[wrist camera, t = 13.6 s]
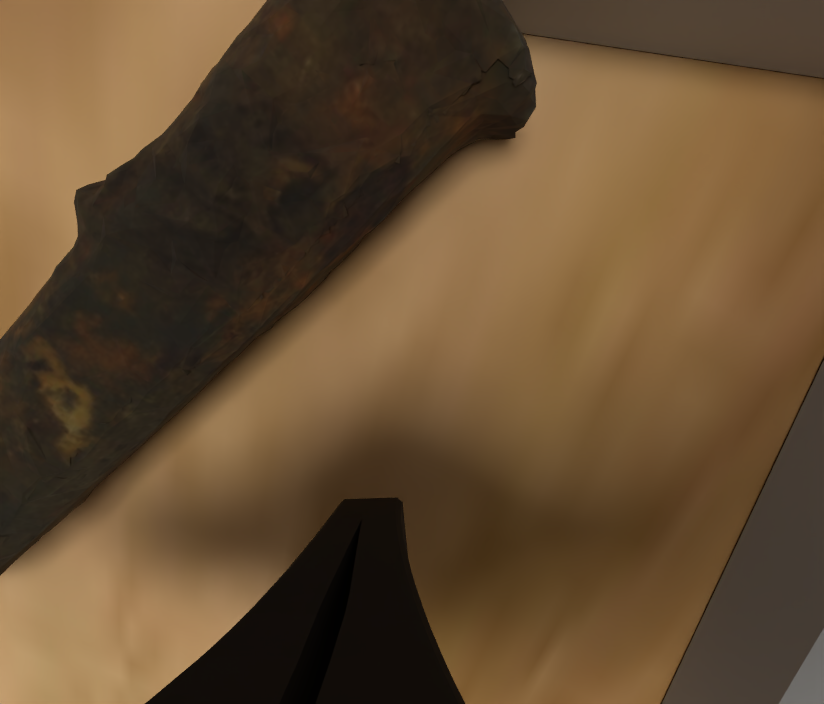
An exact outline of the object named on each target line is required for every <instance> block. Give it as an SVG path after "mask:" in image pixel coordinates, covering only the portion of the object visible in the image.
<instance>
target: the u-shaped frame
mask: <svg viewBox="0 0 824 704" xmlns="http://www.w3.org/2000/svg"><path fill="white" fill-rule="evenodd" d="M502 1H503V2H504V4H505V6H506V7H507V9H508V11H509V13H510V14H511V16H512V18H513V19H514V21H515V23H516V25H517V26H518V28H519V30H520V31H521V33H525V34H531V35H538V36H545V37H551V38H558V39H565V40H571V41H578V42H585V43H592V44H598V45H605V46H612V47H618V48H625V49H632V50H639V51H645V52H652V53H659V54H665V55H672V56H679V57H685V58H692V59H699V60H706V61H712V62H719V63H726V64H732V65H739V66H746V67H753V68H759V69H766V70H773V71H779V72H786V73H793V74H800V75H806V76H813V77H820V78H824V0H502ZM662 704H824V360H823V362H822V365H821V367H820V369H819V371H818V373H817V375H816V377H815V379H814V382H813V384H812V386H811V388H810V390H809V392H808V394H807V396H806V398H805V401H804V403H803V405H802V407H801V409H800V411H799V413H798V415H797V418H796V420H795V422H794V424H793V426H792V428H791V430H790V432H789V435H788V437H787V439H786V441H785V443H784V445H783V447H782V449H781V452H780V454H779V456H778V458H777V460H776V462H775V464H774V466H773V469H772V471H771V473H770V475H769V477H768V479H767V481H766V483H765V486H764V488H763V490H762V492H761V494H760V496H759V498H758V500H757V503H756V505H755V507H754V509H753V511H752V513H751V515H750V517H749V520H748V522H747V524H746V526H745V528H744V530H743V532H742V534H741V537H740V539H739V541H738V543H737V545H736V547H735V549H734V551H733V554H732V556H731V558H730V560H729V562H728V564H727V566H726V568H725V571H724V573H723V575H722V577H721V579H720V581H719V583H718V585H717V588H716V590H715V592H714V594H713V596H712V598H711V600H710V602H709V605H708V607H707V609H706V611H705V613H704V615H703V617H702V619H701V621H700V624H699V626H698V628H697V630H696V632H695V634H694V636H693V638H692V641H691V643H690V645H689V647H688V649H687V651H686V653H685V655H684V658H683V660H682V662H681V664H680V666H679V668H678V670H677V672H676V675H675V677H674V679H673V681H672V683H671V685H670V687H669V689H668V692H667V694H666V696H665V698H664V700H663V702H662Z"/></svg>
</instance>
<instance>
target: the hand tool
mask: <svg viewBox="0 0 824 704" xmlns="http://www.w3.org/2000/svg"><path fill="white" fill-rule="evenodd" d="M536 84H537V83H536V79H535V75H534V71H533V66H532V61H531V56H530V51H529V48H528V46H527V43H526V40H525V38H524V37H523V35H522V33H521V31H520V30H519V28H518V26H517V25H516V23H515V21H514V19H513V18H512V16H511V14H510V13H509V11H508V9H507V7H506V6H505V4H504V2H503V1H502V0H267V1H266V2H265V4H264V5H263V6H262V8H261V9H260V10H259V11H258V13H257V14H256V15H255V17H254V18H253V19H252V21H251V22H250V23H249V24H248V26H247V27H246V28H245V29H244V30H243V31H242V32H241V33H240V34H239V35H238V36H237V37H236V39H235V40H234V41H233V43H232V44H231V46H230V47H229V48H228V50H227V51H226V52H225V54H224V55H223V57H222V58H221V59H220V61H219V62H218V64H217V65H215V66H214V67H213V68H212V69H211V71H210V72H209V74H208V75H207V77H206V78H205V80H204V81H203V82H202V83H201V85H200V87H199V89H198V91H197V92H196V94H195V95H194V97H193V99H192V100H191V101H190V102H189V103H188V105H187V106H186V107H185V108H184V110H183V111H182V112H181V113H180V115H179V116H178V117H177V118H176V119H175V121H174V122H173V123H172V124H171V125H170V126H169V128H168V129H167V130H166V131H165V132H164V133H163V134H162V135H161V136H159V137H158V138H157V139H155V140H154V141H153V142H151V143H150V144H149V145H147V146H146V147H145V148H143V149H142V150H141V151H140V152H139V153H138V154H137V155H136V156H135V158H133V159H131V160H130V161H128V162H126V163H125V164H123V165H121V166H120V167H118V168H117V169H115V170H114V171H112V172H111V173H109V174H108V175H107V177H106V180H103V181H100V182H96V183H93V184H89V185H86V186H84V187H82V188H80V189H78V190H76V195H75V200H74V204H75V210H76V216H77V222H78V238H77V240H76V242H75V245H74V247H73V248H72V249H71V250H70V252H69V253H68V254H67V255H66V256H65V257H64V258H63V259H62V261H61V262H60V263H59V264H58V265H57V266H56V268H55V270H54V272H53V274H52V276H51V277H50V279H49V280H48V281H47V282H46V284H45V285H44V286H43V287H42V289H41V290H40V291H39V292H38V293H37V295H36V296H35V298H34V299H33V300H32V302H31V303H30V305H29V306H28V307H27V308H26V309H25V311H24V312H23V313H22V314H21V315H20V317H19V318H18V319H17V320H16V321H15V322H14V324H13V325H12V326H11V327H10V328H9V330H8V331H7V332H6V333H5V334H4V336H3V337H2V338H1V339H0V575H1V574H2V573H3V572H4V571H5V570H6V569H7V568H8V567H9V566H10V565H11V564H12V563H13V562H14V561H15V560H17V559H18V558H19V557H20V556H21V555H22V554H23V553H24V552H25V551H27V550H28V549H29V548H30V547H31V546H32V545H34V544H35V543H36V542H37V541H39V539H40V538H41V537H42V536H43V535H44V534H46V533H47V532H48V531H49V530H51V529H52V528H53V527H54V526H56V525H57V524H58V523H59V522H60V521H61V520H62V519H63V518H65V517H66V516H67V515H68V514H69V513H70V512H71V511H72V510H74V509H75V508H76V507H77V506H79V505H80V504H81V503H83V502H84V501H85V500H86V498H87V497H88V496H89V494H90V493H91V492H92V490H93V489H94V488H95V487H96V486H97V485H98V484H99V483H100V482H101V481H102V480H104V479H105V478H106V477H107V476H108V475H109V474H110V473H111V472H113V471H114V470H115V469H116V468H117V467H118V466H119V465H120V464H122V463H123V462H124V461H125V460H126V459H127V458H128V457H129V456H131V455H132V454H133V453H134V452H135V451H136V450H137V449H138V448H139V447H141V446H142V445H143V444H144V443H145V442H146V441H147V440H148V439H149V438H150V437H151V436H152V435H153V434H154V433H155V432H157V431H158V430H159V429H160V428H161V427H162V426H163V425H164V424H165V423H167V422H168V421H169V420H170V419H171V418H172V417H173V416H174V415H175V414H176V413H177V412H179V411H180V410H181V409H182V408H183V407H184V406H185V405H186V404H187V403H188V402H189V401H190V400H191V399H193V398H194V397H195V396H196V395H197V394H198V393H199V392H200V391H201V390H202V389H203V388H204V387H205V386H206V385H207V384H208V383H209V382H210V381H211V380H212V379H213V377H214V376H215V375H216V374H217V373H218V372H219V371H221V370H222V369H223V368H224V367H225V366H226V365H227V364H228V363H230V362H231V361H232V360H234V359H235V358H236V357H237V356H238V355H239V354H240V353H241V352H242V351H243V350H244V349H245V348H246V347H247V346H248V345H249V344H250V343H251V342H252V341H253V340H254V339H255V338H256V337H258V336H259V335H261V334H262V333H264V332H266V331H267V330H269V329H270V328H272V326H273V325H274V323H275V322H276V321H277V320H278V319H280V318H281V317H283V316H284V315H285V314H287V313H288V312H289V311H291V310H292V309H293V308H295V307H296V306H297V305H298V304H300V303H301V302H302V301H303V300H304V299H305V298H306V297H307V296H308V295H309V294H310V293H311V292H312V291H313V290H314V289H315V288H316V287H317V286H318V285H319V284H320V283H321V282H322V281H323V280H324V279H325V278H326V276H327V275H328V274H329V272H330V271H331V270H332V269H334V268H335V267H336V266H338V265H339V264H340V263H341V262H342V261H343V260H344V259H345V258H346V257H347V256H348V255H349V254H350V253H351V252H352V251H353V250H354V249H355V248H356V247H357V246H358V244H359V243H360V241H361V240H362V238H363V236H364V235H366V234H367V233H369V232H371V231H372V230H373V229H374V228H375V227H376V226H377V225H378V224H380V223H381V222H382V221H383V220H384V219H385V218H386V217H387V216H388V214H389V213H390V212H391V211H392V210H393V209H394V208H395V207H396V206H397V205H398V204H399V202H400V201H401V200H402V199H403V198H404V197H405V196H406V195H407V194H408V193H409V192H410V191H412V190H413V189H414V188H415V187H416V186H417V185H418V184H419V183H420V182H422V181H423V180H424V179H425V178H426V177H427V176H428V175H429V174H430V173H432V172H433V171H434V170H435V169H436V168H437V167H438V166H439V165H440V164H442V163H443V162H444V161H445V160H446V159H447V158H448V157H449V156H450V155H452V154H453V153H454V152H455V151H457V150H459V149H461V148H463V147H465V146H467V145H469V144H471V143H472V142H474V141H476V140H478V139H511V138H515V132H516V131H518V130H519V129H521V128H523V127H524V126H525V124H526V122H527V121H528V119H529V117H530V116H531V114H532V112H533V111H534V109H535V108H536V97H535V87H536Z"/></svg>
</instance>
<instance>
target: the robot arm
mask: <svg viewBox="0 0 824 704" xmlns="http://www.w3.org/2000/svg"><path fill="white" fill-rule="evenodd" d="M145 704H465V702H464V700H463V698H462V696H461V694H460V692H459V690H458V688H457V686H456V684H455V683H454V680H453V678H452V676H451V674H450V672H449V669H448V667H447V665H446V663H445V661H444V658H443V656H442V654H441V652H440V649H439V647H438V644H437V642H436V640H435V637H434V635H433V632H432V630H431V628H430V625H429V622H428V620H427V617H426V614H425V612H424V609H423V606H422V603H421V600H420V597H419V594H418V591H417V588H416V585H415V582H414V579H413V575H412V572H411V568H410V564H409V560H408V553H407V543H406V533H405V523H404V513H403V503H402V501H401V500H399V499H398V498H371V499H344V500H343V501H342V502H341V503H340V505H339V506H338V507H337V509H336V510H335V511H334V512H333V514H332V515H331V516H330V518H329V519H328V520H327V522H326V523H325V524H324V525H323V527H322V528H321V529H320V531H319V532H318V533H317V534H316V536H315V537H314V538H313V539H312V541H311V542H310V543H309V544H308V546H307V547H306V548H305V549H304V550H303V552H302V553H301V554H300V555H299V556H298V558H297V559H296V560H295V561H294V562H293V563H292V565H291V566H290V567H289V568H288V569H287V571H286V572H285V573H284V574H283V575H282V576H281V577H280V578H279V579H278V581H277V582H276V583H275V584H274V585H273V586H272V587H271V588H270V589H269V590H268V591H267V593H266V594H265V595H264V596H263V597H262V598H261V599H260V600H259V601H258V602H257V603H256V605H255V606H254V607H253V608H252V609H251V610H250V611H249V612H248V613H247V614H246V615H245V616H244V617H243V618H242V619H241V620H240V621H239V622H238V623H237V624H236V625H235V626H234V627H233V628H232V629H231V630H230V631H229V632H227V633H226V634H225V635H224V636H223V637H222V638H221V639H220V640H219V641H218V642H217V643H216V644H215V645H214V646H213V647H212V648H210V649H209V650H208V651H207V652H206V653H205V654H204V655H203V656H201V657H200V658H199V659H198V660H197V661H196V662H194V663H193V664H192V665H191V666H190V667H188V668H187V669H186V670H185V671H184V672H182V673H181V674H180V675H179V676H178V677H176V678H175V679H174V680H173V681H172V682H170V683H169V684H168V685H167V686H166V687H165V688H163V689H162V690H161V691H160V692H159V693H157V694H156V695H155V696H154V697H153V698H151V699H150V700H149V701H148V702H146V703H145Z"/></svg>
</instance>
